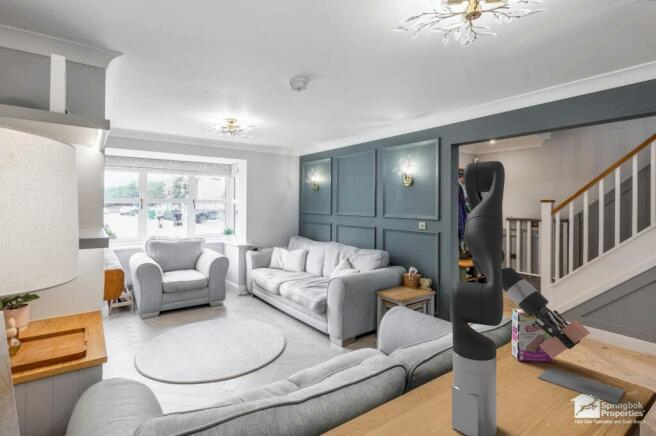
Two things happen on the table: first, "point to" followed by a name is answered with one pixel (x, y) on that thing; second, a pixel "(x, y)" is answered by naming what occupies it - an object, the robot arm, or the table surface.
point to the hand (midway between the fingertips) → (575, 345)
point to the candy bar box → (527, 338)
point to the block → (572, 331)
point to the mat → (583, 385)
